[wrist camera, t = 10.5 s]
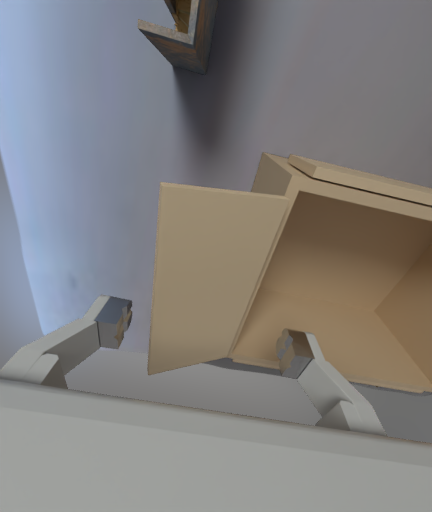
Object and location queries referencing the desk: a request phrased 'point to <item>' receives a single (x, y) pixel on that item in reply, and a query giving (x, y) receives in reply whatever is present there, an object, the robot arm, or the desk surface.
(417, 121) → the desk surface
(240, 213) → the flap
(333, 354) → the carton
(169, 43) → the miniature staircase model
